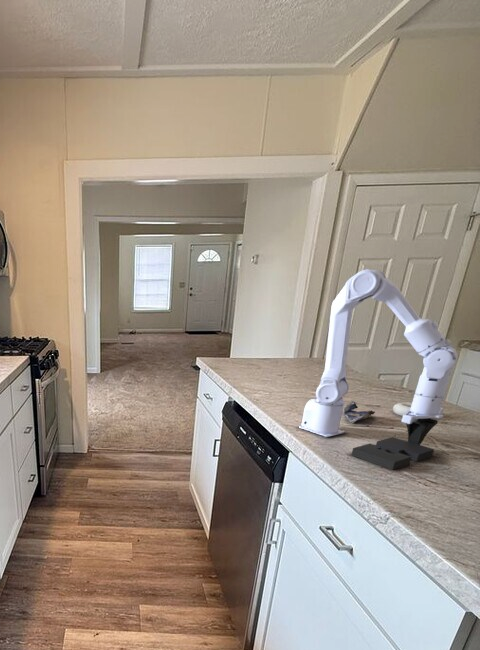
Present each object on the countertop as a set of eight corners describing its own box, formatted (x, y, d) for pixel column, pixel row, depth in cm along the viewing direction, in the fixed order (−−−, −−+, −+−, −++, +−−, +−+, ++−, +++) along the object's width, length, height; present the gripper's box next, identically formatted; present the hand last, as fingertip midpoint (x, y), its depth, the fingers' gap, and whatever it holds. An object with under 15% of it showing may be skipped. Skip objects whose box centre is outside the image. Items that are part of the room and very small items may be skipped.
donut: (385, 410, 138) (401, 419, 129) (388, 400, 137) (404, 408, 127) (418, 411, 136) (436, 420, 127) (420, 401, 135) (439, 409, 126)
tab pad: (370, 449, 106) (372, 442, 105) (390, 443, 110) (392, 436, 109) (412, 463, 98) (414, 455, 97) (432, 456, 101) (434, 449, 100)
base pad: (351, 455, 103) (352, 448, 102) (368, 450, 106) (369, 443, 105) (392, 470, 94) (394, 462, 94) (409, 464, 97) (411, 456, 96)
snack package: (326, 416, 133) (360, 426, 122) (332, 397, 131) (367, 405, 121) (349, 417, 137) (384, 427, 127) (355, 399, 136) (391, 407, 126)
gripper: (431, 402, 94) (414, 455, 99) (463, 394, 100) (446, 445, 105) (399, 395, 100) (384, 446, 105) (431, 388, 106) (416, 436, 111)
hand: (413, 445), depth 105 cm, fingers closed
